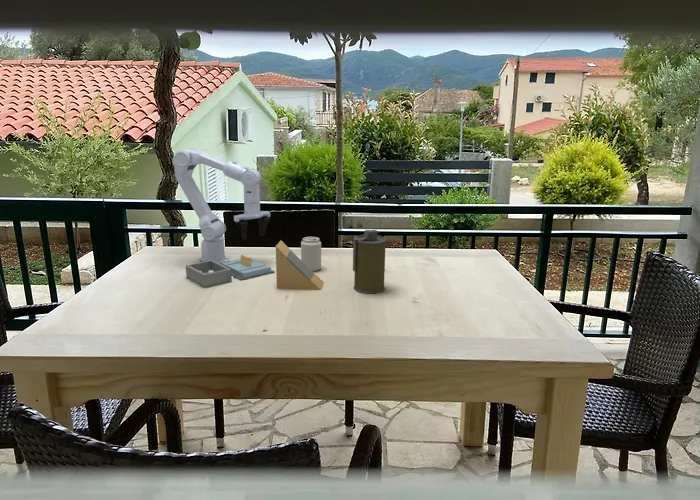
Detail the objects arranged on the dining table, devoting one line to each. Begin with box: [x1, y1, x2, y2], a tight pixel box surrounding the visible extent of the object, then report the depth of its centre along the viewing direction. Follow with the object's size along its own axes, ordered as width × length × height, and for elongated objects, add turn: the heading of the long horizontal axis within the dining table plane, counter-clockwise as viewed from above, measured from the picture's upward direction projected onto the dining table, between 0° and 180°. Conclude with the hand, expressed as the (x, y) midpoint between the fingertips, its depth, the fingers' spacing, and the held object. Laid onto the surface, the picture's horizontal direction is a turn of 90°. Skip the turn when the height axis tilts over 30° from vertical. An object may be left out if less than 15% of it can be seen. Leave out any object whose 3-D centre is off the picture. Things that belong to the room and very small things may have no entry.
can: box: [300, 236, 322, 272], centre depth 192 cm, size 8×8×12 cm
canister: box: [352, 229, 387, 295], centre depth 172 cm, size 11×10×20 cm
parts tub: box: [185, 260, 233, 289], centre depth 180 cm, size 14×10×4 cm
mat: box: [231, 269, 276, 281], centre depth 190 cm, size 16×14×1 cm
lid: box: [221, 253, 272, 278], centre depth 189 cm, size 15×11×5 cm
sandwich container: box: [275, 240, 325, 291], centre depth 174 cm, size 9×15×15 cm, turn 87°
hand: (253, 237), depth 196 cm, fingers open, 7 cm apart
